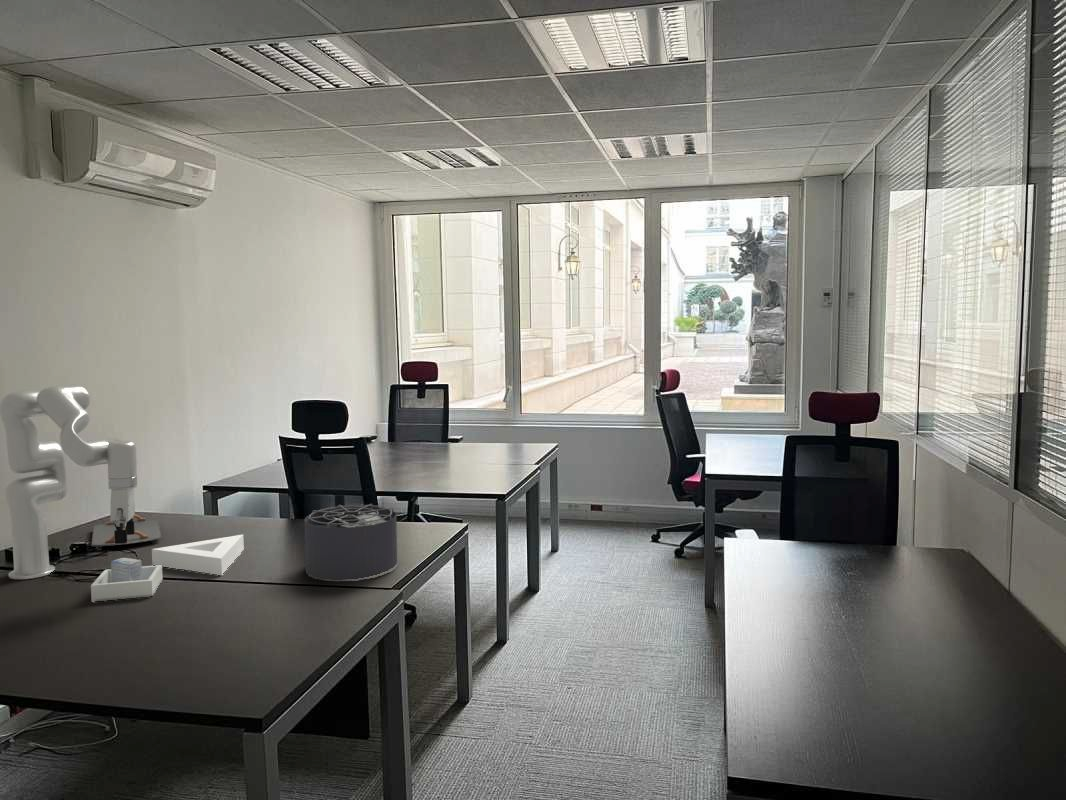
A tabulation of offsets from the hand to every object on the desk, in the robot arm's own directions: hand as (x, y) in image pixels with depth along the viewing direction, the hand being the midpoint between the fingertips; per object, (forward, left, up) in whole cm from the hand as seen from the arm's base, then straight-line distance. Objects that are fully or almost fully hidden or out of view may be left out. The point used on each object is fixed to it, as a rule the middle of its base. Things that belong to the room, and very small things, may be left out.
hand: (124, 538), depth 229 cm
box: (0, 0, -16) cm, 16 cm away
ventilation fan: (-4, +66, -16) cm, 68 cm away
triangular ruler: (-27, +22, -17) cm, 38 cm away
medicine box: (0, 0, -15) cm, 15 cm away
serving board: (-70, -15, -17) cm, 73 cm away
